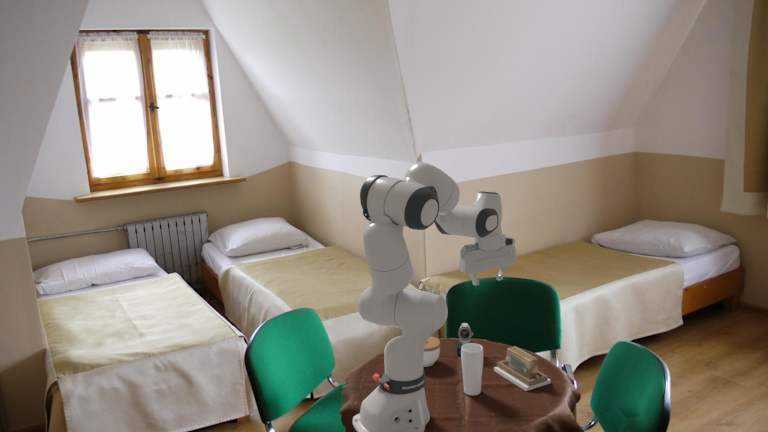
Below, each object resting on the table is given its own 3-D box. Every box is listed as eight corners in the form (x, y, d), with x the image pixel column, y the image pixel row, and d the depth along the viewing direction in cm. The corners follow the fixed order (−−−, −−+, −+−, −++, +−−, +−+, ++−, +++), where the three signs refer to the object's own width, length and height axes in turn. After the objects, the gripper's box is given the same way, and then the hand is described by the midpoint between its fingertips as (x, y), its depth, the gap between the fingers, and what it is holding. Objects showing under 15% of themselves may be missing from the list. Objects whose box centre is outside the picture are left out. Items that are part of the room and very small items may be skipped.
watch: (457, 358, 213) (457, 328, 211) (457, 348, 221) (456, 319, 219) (473, 358, 213) (473, 329, 210) (472, 348, 220) (472, 320, 218)
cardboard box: (528, 381, 192) (528, 361, 191) (506, 368, 202) (506, 348, 200) (537, 378, 194) (537, 358, 193) (514, 365, 204) (515, 346, 202)
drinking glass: (482, 398, 186) (482, 352, 182) (460, 396, 187) (460, 351, 184) (483, 387, 192) (483, 343, 189) (462, 386, 194) (461, 342, 190)
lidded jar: (405, 358, 214) (404, 333, 212) (434, 354, 217) (433, 329, 215) (415, 372, 204) (414, 346, 202) (445, 367, 207) (444, 341, 205)
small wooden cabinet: (525, 391, 189) (526, 380, 188) (494, 370, 203) (494, 360, 202) (550, 383, 194) (550, 372, 193) (517, 363, 207) (517, 353, 207)
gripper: (466, 247, 187) (466, 290, 190) (519, 238, 196) (518, 279, 199) (455, 243, 193) (455, 285, 196) (506, 234, 202) (506, 274, 205)
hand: (487, 282), depth 197 cm, fingers open, 8 cm apart
